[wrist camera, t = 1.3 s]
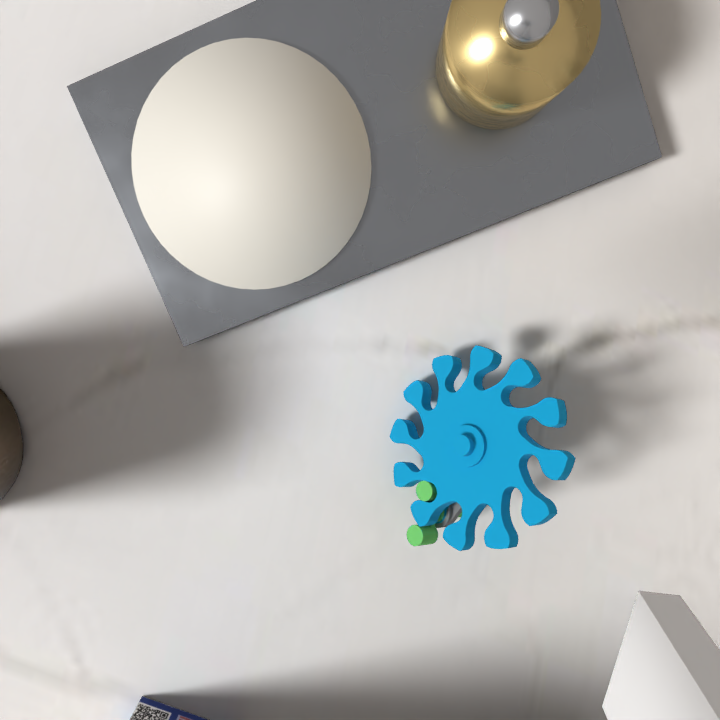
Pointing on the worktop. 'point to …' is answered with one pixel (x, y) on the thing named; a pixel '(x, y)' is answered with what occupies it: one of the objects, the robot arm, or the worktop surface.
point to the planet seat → (251, 163)
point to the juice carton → (160, 711)
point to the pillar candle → (9, 445)
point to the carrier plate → (409, 124)
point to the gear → (477, 452)
